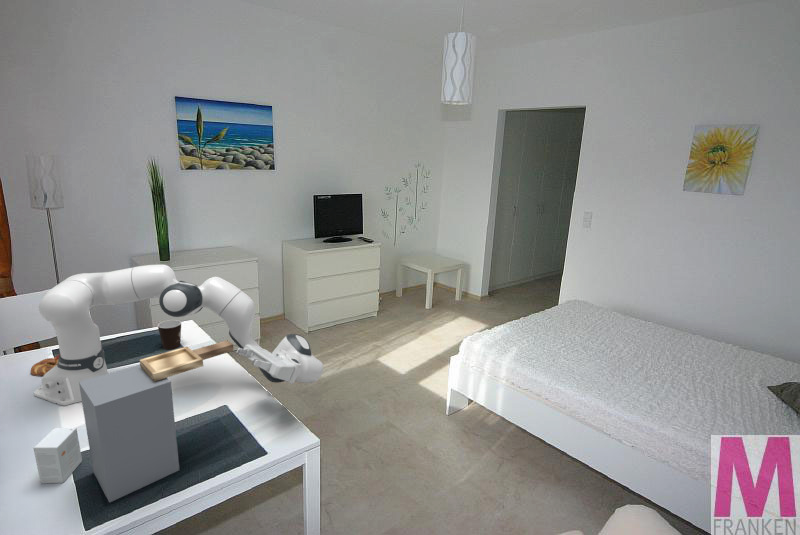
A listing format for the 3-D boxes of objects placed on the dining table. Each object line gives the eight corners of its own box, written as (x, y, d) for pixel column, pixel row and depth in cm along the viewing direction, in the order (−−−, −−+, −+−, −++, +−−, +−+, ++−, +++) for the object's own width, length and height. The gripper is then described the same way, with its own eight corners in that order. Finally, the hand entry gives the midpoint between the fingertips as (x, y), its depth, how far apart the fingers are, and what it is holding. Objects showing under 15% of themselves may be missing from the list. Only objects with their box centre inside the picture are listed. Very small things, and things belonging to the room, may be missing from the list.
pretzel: (30, 381, 154) (28, 372, 153) (32, 368, 163) (30, 359, 162) (72, 372, 161) (71, 363, 160) (72, 360, 170) (70, 351, 169)
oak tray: (222, 342, 131) (222, 336, 130) (239, 354, 124) (238, 348, 124) (140, 366, 115) (139, 359, 115) (154, 381, 109) (153, 374, 108)
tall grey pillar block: (159, 444, 126) (150, 361, 119) (179, 470, 117) (170, 381, 110) (93, 472, 115) (78, 381, 108) (109, 502, 105) (94, 406, 98)
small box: (60, 461, 118) (54, 427, 115) (83, 461, 118) (77, 427, 115) (39, 484, 110) (32, 447, 107) (63, 483, 110) (57, 447, 108)
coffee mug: (173, 352, 179) (171, 329, 176) (155, 349, 181) (152, 326, 178) (192, 340, 190) (190, 318, 187) (174, 337, 192) (172, 316, 189)
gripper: (268, 344, 149) (233, 335, 139) (304, 366, 136) (268, 358, 126) (261, 362, 149) (225, 354, 138) (296, 386, 135) (259, 379, 125)
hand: (245, 356), depth 132 cm, fingers open, 8 cm apart
